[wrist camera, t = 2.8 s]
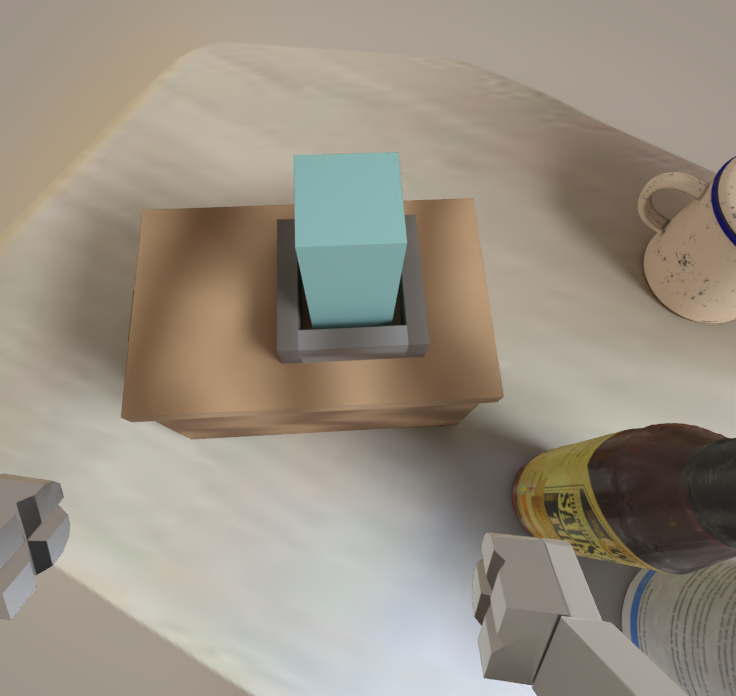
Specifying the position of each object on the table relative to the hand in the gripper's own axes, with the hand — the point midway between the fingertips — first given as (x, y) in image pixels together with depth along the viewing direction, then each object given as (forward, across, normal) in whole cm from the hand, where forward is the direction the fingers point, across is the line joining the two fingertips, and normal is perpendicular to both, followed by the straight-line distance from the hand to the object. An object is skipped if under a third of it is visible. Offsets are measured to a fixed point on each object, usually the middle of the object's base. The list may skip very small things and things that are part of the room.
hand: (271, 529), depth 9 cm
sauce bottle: (+19, -15, +15) cm, 28 cm away
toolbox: (+24, +2, +9) cm, 26 cm away
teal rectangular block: (+18, 0, +2) cm, 18 cm away
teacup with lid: (+32, -25, +1) cm, 41 cm away
